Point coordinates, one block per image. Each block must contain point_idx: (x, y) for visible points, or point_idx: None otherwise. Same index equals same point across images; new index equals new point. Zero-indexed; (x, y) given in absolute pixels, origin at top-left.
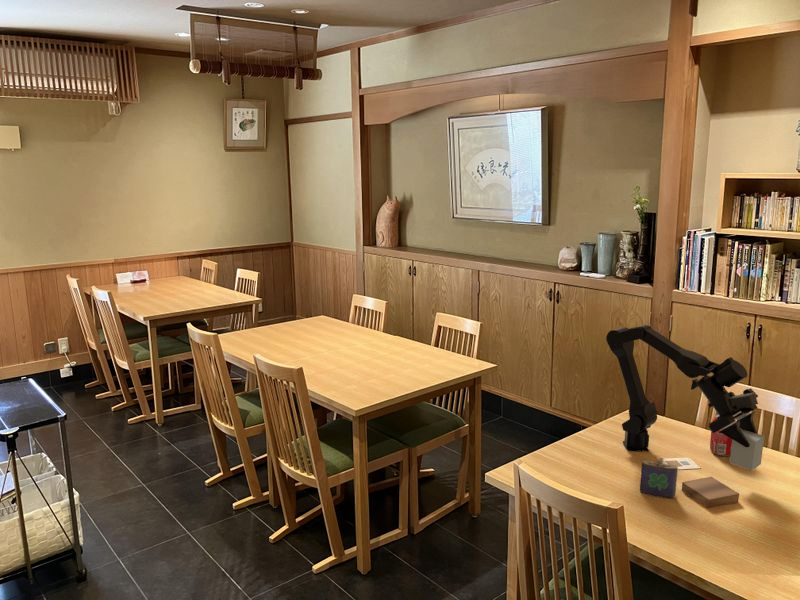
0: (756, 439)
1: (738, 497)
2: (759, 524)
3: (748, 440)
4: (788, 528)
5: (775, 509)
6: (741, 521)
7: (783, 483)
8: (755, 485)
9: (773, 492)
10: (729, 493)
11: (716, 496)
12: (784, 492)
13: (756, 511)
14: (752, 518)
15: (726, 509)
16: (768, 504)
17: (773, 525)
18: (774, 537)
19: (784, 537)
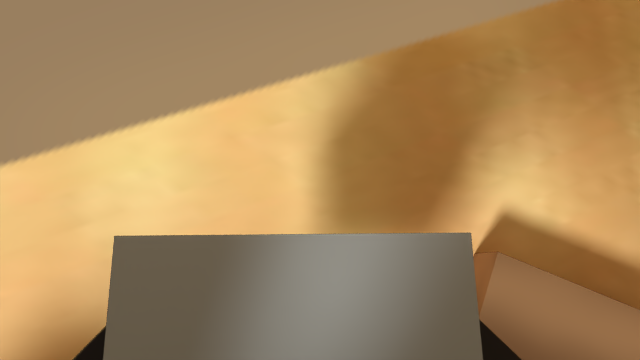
0: (357, 266)
1: (489, 253)
2: (574, 115)
3: (476, 341)
4: (507, 32)
5: (400, 115)
6: (614, 172)
7: (96, 183)
8: None
9: (241, 180)
10: (539, 288)
11: (626, 319)
12: (199, 145)
13: (485, 163)
14: (554, 152)
15: (579, 260)
16: (380, 152)
17: (534, 76)
18: (612, 45)
19: (581, 22)
